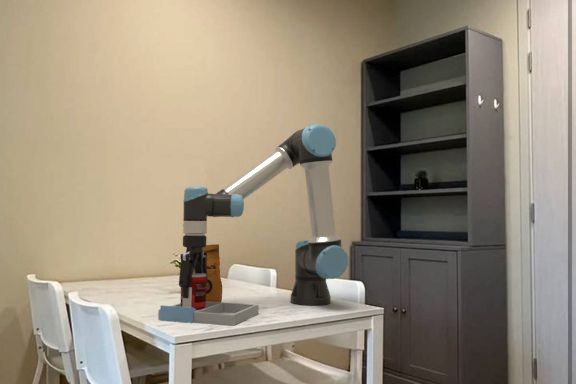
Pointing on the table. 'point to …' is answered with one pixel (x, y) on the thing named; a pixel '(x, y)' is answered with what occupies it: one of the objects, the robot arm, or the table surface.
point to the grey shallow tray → (209, 313)
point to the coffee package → (213, 274)
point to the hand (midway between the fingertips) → (193, 306)
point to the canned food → (197, 291)
